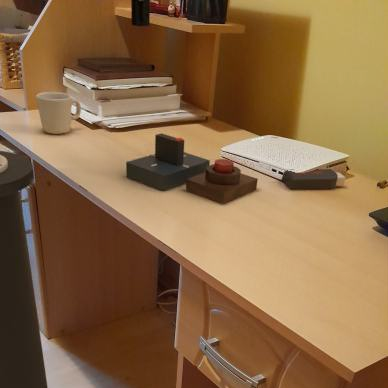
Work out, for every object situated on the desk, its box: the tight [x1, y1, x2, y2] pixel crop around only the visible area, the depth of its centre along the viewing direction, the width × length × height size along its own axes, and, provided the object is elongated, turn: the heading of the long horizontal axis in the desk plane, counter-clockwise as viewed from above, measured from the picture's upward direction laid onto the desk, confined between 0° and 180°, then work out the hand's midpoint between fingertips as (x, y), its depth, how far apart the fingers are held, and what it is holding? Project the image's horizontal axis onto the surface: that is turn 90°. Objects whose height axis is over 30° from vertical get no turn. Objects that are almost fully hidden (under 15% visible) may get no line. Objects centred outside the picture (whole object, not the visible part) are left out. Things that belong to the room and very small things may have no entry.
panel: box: [125, 151, 211, 192], centre depth 104 cm, size 14×10×3 cm
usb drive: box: [281, 168, 347, 191], centre depth 105 cm, size 5×12×3 cm, turn 102°
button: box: [214, 158, 235, 173], centre depth 98 cm, size 4×4×2 cm
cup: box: [35, 91, 82, 135], centre depth 123 cm, size 11×8×8 cm
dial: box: [154, 132, 185, 165], centre depth 102 cm, size 6×2×5 cm, turn 51°
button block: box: [185, 163, 259, 205], centre depth 99 cm, size 11×9×4 cm
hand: (140, 25), depth 97 cm, fingers closed
